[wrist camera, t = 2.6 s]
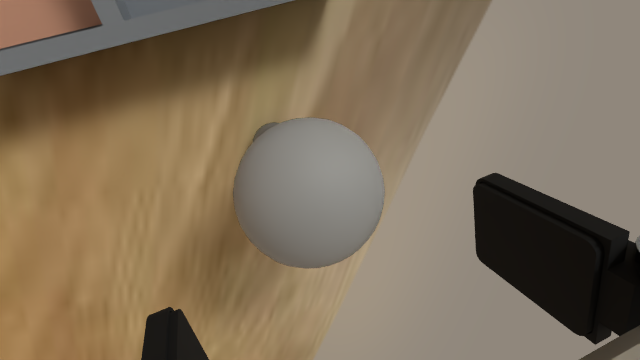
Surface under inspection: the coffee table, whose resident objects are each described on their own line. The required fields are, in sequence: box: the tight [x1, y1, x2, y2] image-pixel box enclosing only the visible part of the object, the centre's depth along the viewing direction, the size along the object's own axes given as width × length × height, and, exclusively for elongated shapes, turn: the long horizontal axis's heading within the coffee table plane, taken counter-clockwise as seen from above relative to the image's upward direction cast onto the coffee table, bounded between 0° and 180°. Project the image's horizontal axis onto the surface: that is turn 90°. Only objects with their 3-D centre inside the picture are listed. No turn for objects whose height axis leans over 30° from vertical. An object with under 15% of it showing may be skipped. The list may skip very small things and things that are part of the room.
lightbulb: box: [233, 118, 385, 268], centre depth 17 cm, size 6×6×11 cm
